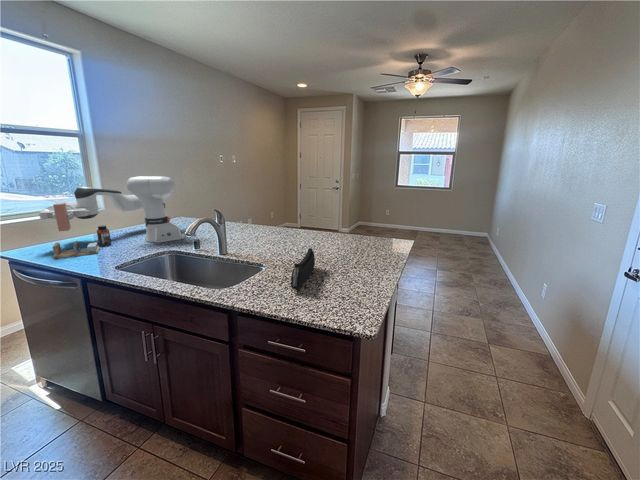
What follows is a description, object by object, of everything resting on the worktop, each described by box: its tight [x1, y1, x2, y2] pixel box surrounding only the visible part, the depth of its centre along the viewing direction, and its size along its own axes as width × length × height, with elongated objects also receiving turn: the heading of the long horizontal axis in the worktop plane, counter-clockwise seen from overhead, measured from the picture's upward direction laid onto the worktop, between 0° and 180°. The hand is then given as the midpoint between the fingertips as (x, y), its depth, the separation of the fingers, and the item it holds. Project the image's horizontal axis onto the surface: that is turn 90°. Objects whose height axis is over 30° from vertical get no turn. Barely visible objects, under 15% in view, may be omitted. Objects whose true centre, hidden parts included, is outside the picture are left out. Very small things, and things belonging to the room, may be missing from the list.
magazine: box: [290, 247, 316, 291], centre depth 135 cm, size 17×3×30 cm
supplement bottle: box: [96, 224, 112, 247], centre depth 181 cm, size 6×6×11 cm
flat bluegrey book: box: [86, 241, 99, 252], centre depth 169 cm, size 4×8×3 cm, turn 29°
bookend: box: [72, 240, 88, 254], centre depth 165 cm, size 5×8×5 cm, turn 29°
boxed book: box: [52, 202, 72, 232], centre depth 164 cm, size 4×6×14 cm
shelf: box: [52, 242, 100, 259], centre depth 165 cm, size 19×10×6 cm, turn 119°
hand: (61, 216), depth 163 cm, fingers closed on boxed book, 4 cm apart
